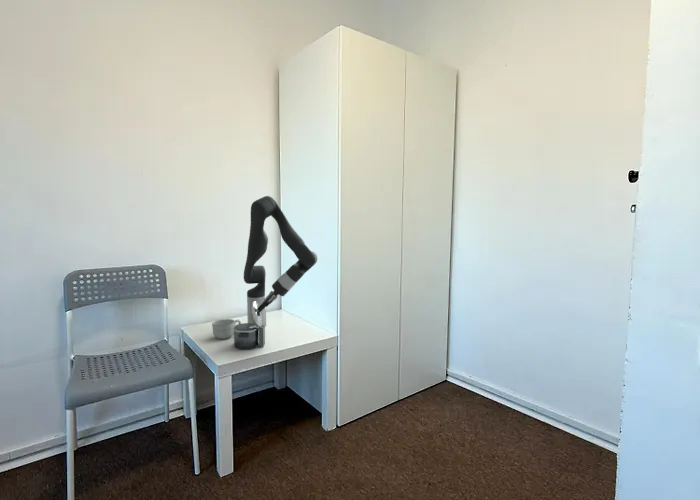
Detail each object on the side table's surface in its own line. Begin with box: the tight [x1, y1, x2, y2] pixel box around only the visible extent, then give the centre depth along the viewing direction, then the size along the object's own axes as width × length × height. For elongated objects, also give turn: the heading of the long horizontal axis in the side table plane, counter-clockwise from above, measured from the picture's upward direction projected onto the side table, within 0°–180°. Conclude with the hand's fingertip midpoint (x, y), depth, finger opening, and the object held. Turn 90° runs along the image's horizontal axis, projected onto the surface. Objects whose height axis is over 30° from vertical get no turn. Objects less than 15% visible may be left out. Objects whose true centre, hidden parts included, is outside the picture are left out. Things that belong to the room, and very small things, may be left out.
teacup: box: [211, 318, 242, 340], centre depth 200 cm, size 14×11×8 cm
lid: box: [252, 301, 262, 327], centre depth 187 cm, size 12×12×2 cm
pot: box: [233, 322, 266, 351], centre depth 188 cm, size 14×14×9 cm
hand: (258, 310), depth 187 cm, fingers closed
